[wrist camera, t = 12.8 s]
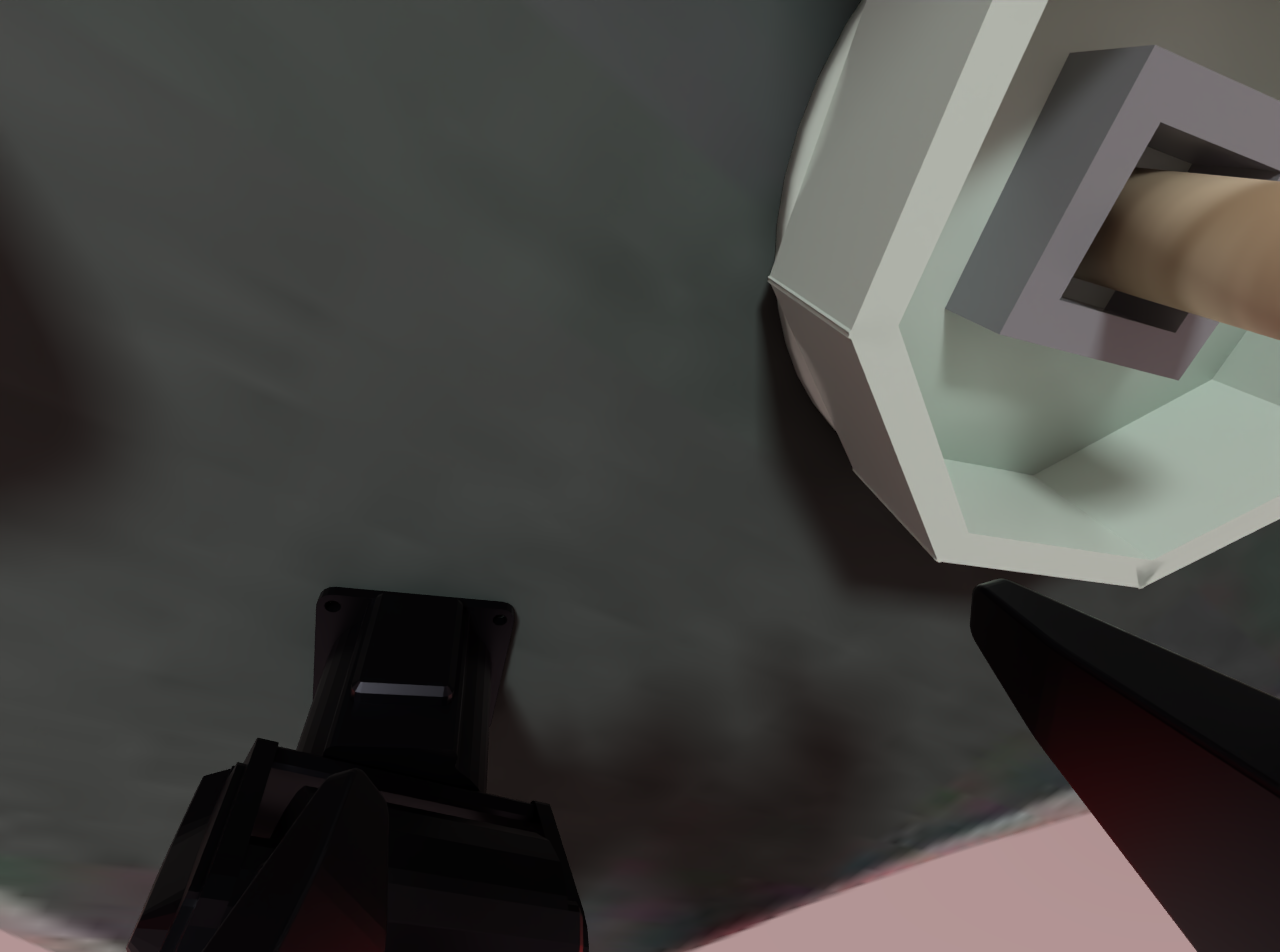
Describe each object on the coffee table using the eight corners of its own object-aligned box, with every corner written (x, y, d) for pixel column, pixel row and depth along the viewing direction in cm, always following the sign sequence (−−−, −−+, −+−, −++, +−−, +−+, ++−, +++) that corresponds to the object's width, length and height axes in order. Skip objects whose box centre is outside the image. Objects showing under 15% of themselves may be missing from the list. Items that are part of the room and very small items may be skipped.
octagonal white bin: (1113, 509, 26) (1260, 608, 21) (694, 436, 21) (752, 543, 16) (1510, -44, 17) (1921, -107, 12) (971, -387, 12) (1287, -727, 7)
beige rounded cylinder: (1102, 285, 19) (1487, 403, 12) (1025, 263, 19) (1384, 373, 11) (1164, 181, 18) (1644, 236, 10) (1083, 152, 17) (1539, 188, 10)
